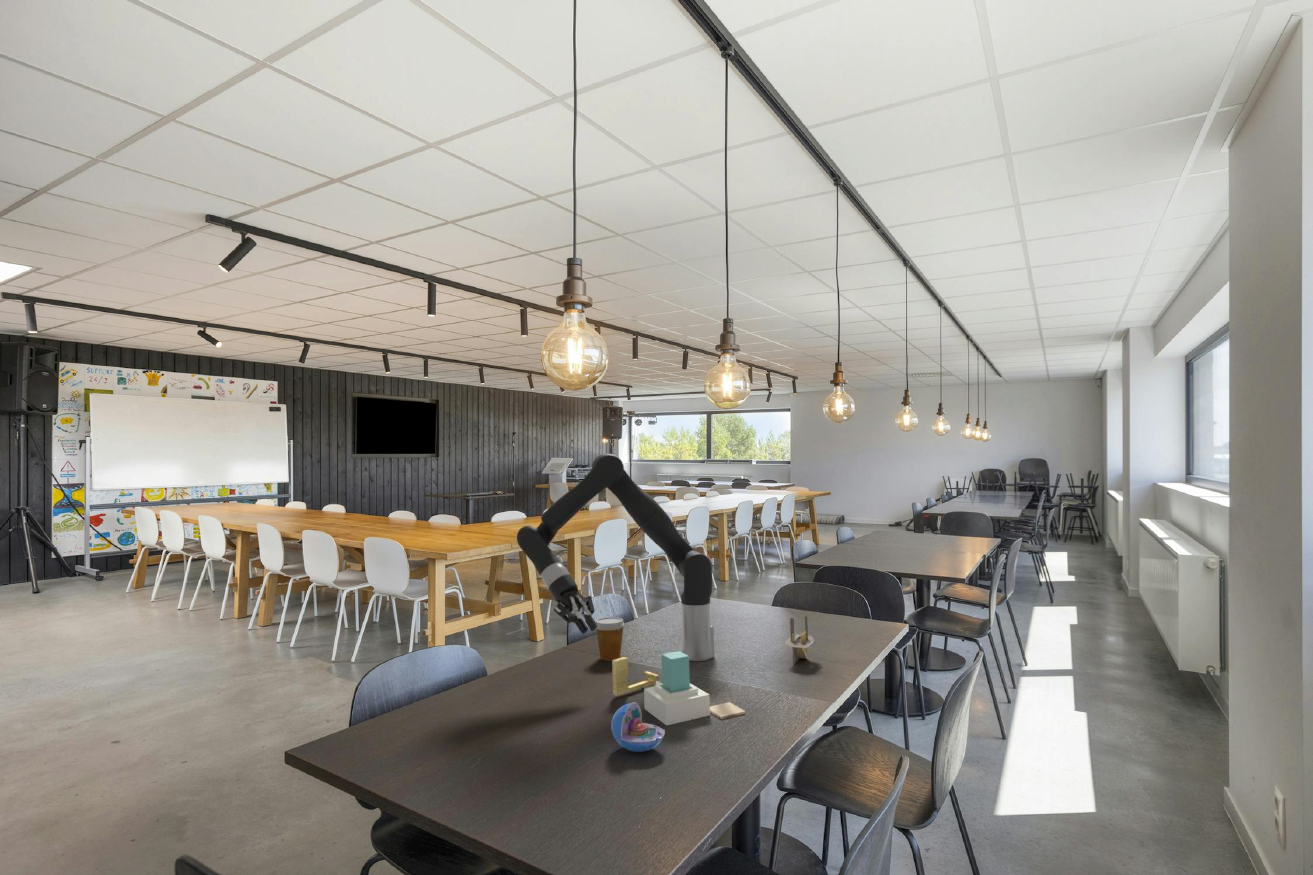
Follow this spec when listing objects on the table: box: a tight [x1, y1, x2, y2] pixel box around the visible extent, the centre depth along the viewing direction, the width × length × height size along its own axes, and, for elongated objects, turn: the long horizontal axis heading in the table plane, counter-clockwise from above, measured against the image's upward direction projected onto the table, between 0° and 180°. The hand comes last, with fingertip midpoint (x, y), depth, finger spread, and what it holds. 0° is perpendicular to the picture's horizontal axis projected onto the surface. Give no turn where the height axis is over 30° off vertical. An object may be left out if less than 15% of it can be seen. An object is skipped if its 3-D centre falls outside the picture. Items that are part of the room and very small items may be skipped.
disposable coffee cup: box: [595, 616, 625, 662], centre depth 206 cm, size 10×10×12 cm
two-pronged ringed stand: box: [784, 615, 815, 666], centre depth 198 cm, size 21×25×14 cm
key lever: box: [611, 656, 660, 697], centre depth 176 cm, size 14×5×9 cm, turn 132°
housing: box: [643, 683, 711, 726], centre depth 160 cm, size 12×12×6 cm
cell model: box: [610, 701, 666, 753], centre depth 140 cm, size 10×12×10 cm
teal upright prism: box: [661, 650, 691, 693], centre depth 161 cm, size 5×5×9 cm
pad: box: [710, 701, 746, 720], centre depth 160 cm, size 7×7×1 cm
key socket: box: [641, 680, 662, 690], centre depth 179 cm, size 6×6×1 cm
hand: (590, 630), depth 179 cm, fingers open, 3 cm apart
